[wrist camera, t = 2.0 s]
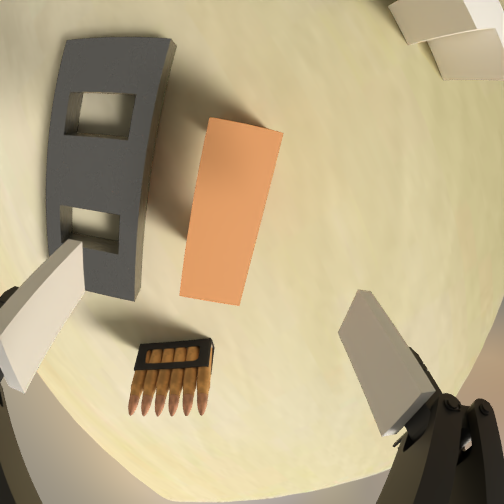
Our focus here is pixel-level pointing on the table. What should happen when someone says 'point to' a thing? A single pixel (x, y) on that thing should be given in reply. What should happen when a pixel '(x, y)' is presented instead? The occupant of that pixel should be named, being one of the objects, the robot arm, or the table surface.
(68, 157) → the gray slotted base board
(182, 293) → the clip
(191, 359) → the ammunition clip
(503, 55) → the corner bracket
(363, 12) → the table surface
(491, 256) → the table surface
